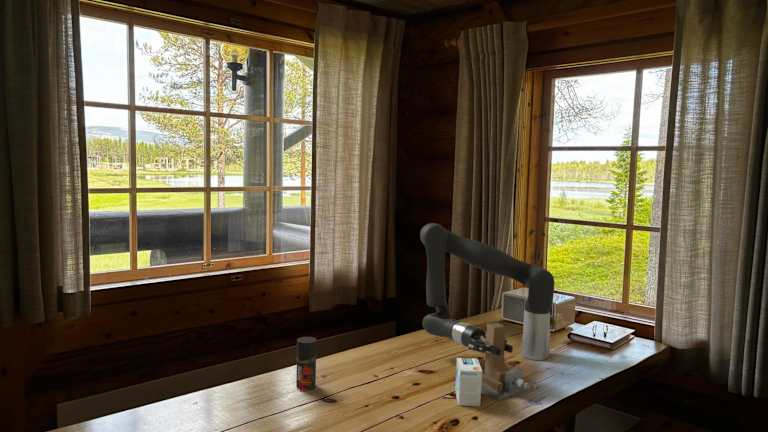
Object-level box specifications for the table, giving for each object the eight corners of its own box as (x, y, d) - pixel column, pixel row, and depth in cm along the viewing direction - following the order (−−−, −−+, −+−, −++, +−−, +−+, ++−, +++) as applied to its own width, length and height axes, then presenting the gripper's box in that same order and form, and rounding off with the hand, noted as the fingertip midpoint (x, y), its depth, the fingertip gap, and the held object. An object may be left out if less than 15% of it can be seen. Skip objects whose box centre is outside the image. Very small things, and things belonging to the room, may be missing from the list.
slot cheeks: (498, 373, 184) (498, 365, 184) (524, 384, 176) (524, 376, 175) (472, 380, 178) (472, 372, 177) (497, 392, 169) (497, 384, 168)
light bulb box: (454, 390, 172) (456, 357, 171) (476, 391, 172) (478, 357, 170) (458, 405, 161) (459, 370, 160) (481, 406, 161) (483, 371, 160)
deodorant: (318, 384, 173) (319, 338, 171) (310, 392, 167) (311, 344, 166) (301, 381, 175) (302, 335, 173) (292, 389, 169) (293, 341, 167)
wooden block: (511, 386, 173) (514, 330, 171) (498, 388, 172) (501, 332, 170) (495, 375, 182) (498, 322, 179) (483, 377, 180) (486, 323, 178)
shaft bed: (501, 374, 186) (502, 354, 185) (538, 390, 173) (539, 369, 173) (466, 384, 177) (467, 362, 176) (502, 402, 164) (503, 379, 164)
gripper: (453, 327, 183) (490, 343, 169) (484, 321, 191) (522, 335, 177) (452, 349, 183) (489, 366, 170) (482, 342, 192) (520, 358, 178)
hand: (506, 351), depth 173 cm, fingers closed on wooden block, 4 cm apart
